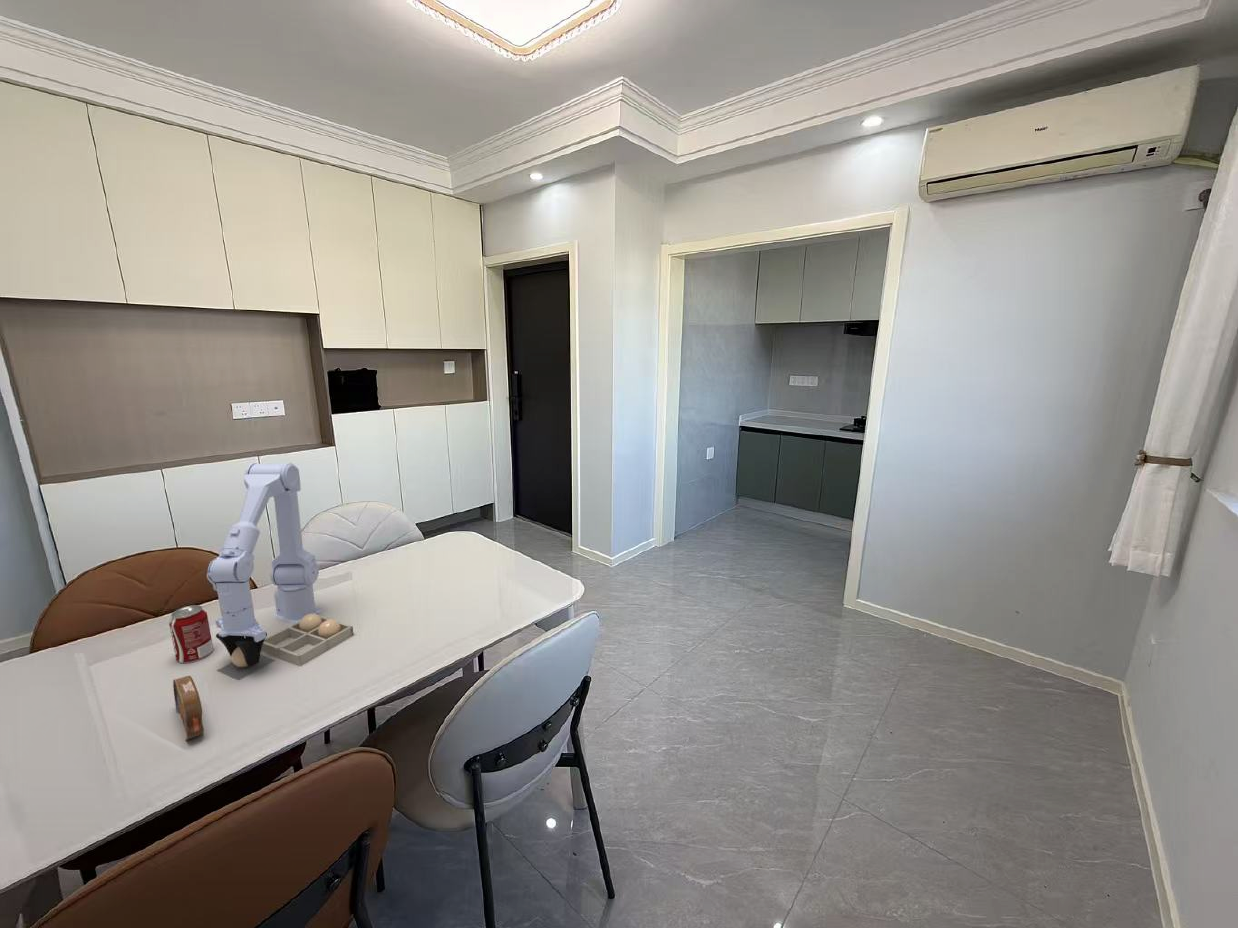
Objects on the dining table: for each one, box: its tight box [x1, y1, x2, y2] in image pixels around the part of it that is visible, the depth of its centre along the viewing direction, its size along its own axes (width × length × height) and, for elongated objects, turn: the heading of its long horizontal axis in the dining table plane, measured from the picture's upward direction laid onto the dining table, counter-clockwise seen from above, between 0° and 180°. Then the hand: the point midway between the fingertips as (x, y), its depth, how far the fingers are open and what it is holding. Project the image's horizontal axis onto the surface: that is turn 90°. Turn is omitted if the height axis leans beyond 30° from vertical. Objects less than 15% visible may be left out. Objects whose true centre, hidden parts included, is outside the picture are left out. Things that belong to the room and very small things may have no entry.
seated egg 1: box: [299, 613, 322, 633], centre depth 128 cm, size 5×5×5 cm
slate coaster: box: [216, 653, 276, 681], centre depth 115 cm, size 8×8×1 cm
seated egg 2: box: [318, 619, 341, 639], centre depth 125 cm, size 5×5×5 cm
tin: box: [172, 675, 205, 741], centre depth 96 cm, size 15×3×8 cm, turn 47°
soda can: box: [168, 604, 214, 664], centre depth 117 cm, size 7×7×12 cm
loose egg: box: [230, 647, 248, 667], centre depth 114 cm, size 5×5×5 cm
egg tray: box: [261, 615, 354, 667], centre depth 124 cm, size 14×14×3 cm
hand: (245, 660), depth 114 cm, fingers closed on loose egg, 5 cm apart
